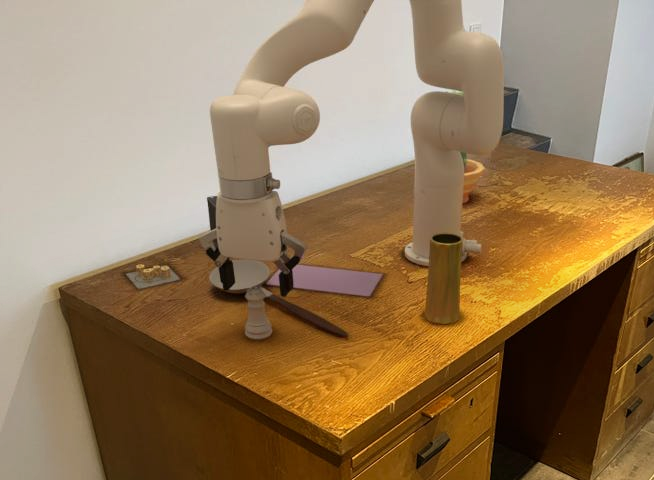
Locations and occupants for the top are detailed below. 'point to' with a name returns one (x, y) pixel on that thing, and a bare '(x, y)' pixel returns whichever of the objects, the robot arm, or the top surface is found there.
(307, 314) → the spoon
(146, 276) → the dice set
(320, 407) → the top surface
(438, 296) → the vase
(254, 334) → the rook chess piece
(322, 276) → the felt mat
